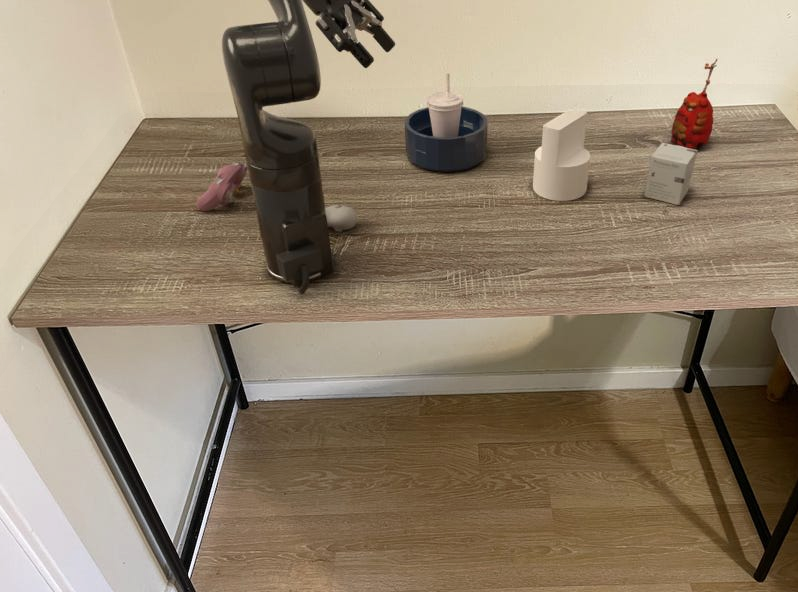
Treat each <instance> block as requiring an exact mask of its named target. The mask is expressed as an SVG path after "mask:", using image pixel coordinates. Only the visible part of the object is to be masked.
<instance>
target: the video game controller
mask: <svg viewBox="0 0 798 592" xmlns="http://www.w3.org/2000/svg"><path fill="white" fill-rule="evenodd" d="M247 172H248V167H247V165H244V164H242V163H240V162H236V161H234V160H233V161H232V162H231V163H230V164H227V165H224V166H223V167H221V168H219V170H218V172H217V175H216V177H215V178H214V179H213V181H212V182H211V184H210V185H209V187H208V189H207V190H206V191H205V192H204V193H202V195H200V196H199V197H198V198H197V200H196V203H195V204H196V208H197V209H198V210H199V211H201V212H209V211H212V210H214V209H215V208H217V207H218V206H219V205H222V206H223V207H224V206H226V205H227V204H228V202H229V200H230V198H232V197H234V196H235V195H236V194H238V193H239V191H240V189H239V188H240V186H241V184H242V183H243V181H244V179H245V177H246V175H247Z"/></svg>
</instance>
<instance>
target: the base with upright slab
mask: <svg viewBox="0 0 798 592" xmlns="http://www.w3.org/2000/svg"><path fill="white" fill-rule="evenodd" d="M587 122H588V112H587V111H585V110H582V109H580V108H579V109H578V108H573V107H570V108H569V109H568V110H565V111H564V112H563V113H561V114H559V115H557V116H556V117H554V118H552V119H550V120H549V121H547V122H546V123H544V124H543V125H542V138H541V146H539V147H538V148H536V149H535V152H534V161H533V175H532V176H533V177H532V189H533V191H534V193H535V194H536V195H538V196H539V197H541V198H544V199H546V200H550V201H557V202H567V201H573V200H578V199H580V198H581V197H583V196H584V195H585V194H586V193H587V189H588V181H589V171H590V162H591V153H590V152H589V150H588V149H587V148H585V139H586V138H585V137H586V131H587V130H586V129H587Z"/></svg>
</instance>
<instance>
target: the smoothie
mask: <svg viewBox="0 0 798 592" xmlns="http://www.w3.org/2000/svg"><path fill="white" fill-rule="evenodd" d="M445 85H446V86H445V87H446V91H440V92H435V93H432V94H429V95H428V96H427V97H426V108H427V107H428V108H429V113H430V119H431V125H432V132H433V137H458V132H459V124H460V116H461V107H462V106H463V107H464V97H463V96H462V95H461V94H459V93H456V92H452V91H451V90H450V89H451V87H450V72H446V73H445Z"/></svg>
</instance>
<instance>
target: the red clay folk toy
mask: <svg viewBox="0 0 798 592" xmlns="http://www.w3.org/2000/svg"><path fill="white" fill-rule="evenodd" d="M717 62H718V58H715V61H713V62H712V63H711V64H709V63H708V62H706V63H705V64H704V70H709V72H708V76H707V79H705V85H704V88H703V89H702V91H701V92H700V93H699V94H698V93H696V92H695V91H692V92H689V93H688V94H687V95H686V97H684V99H683V102H682V104H681V105H680V107H679V108H678V109H677V112H676V114H675V115H674V120H673V122H672V127H671V138H670V140H671V142H673V143H676V145H678V146H683V147H686V148H690V149H695V150H696V149H701V148H703V147H705V146H706V145H707V144H708V142H710V141H709V140H710V137H711V135H712V132H713V124H714V108H713V106H712V103H711V101H710V100H709V98H708V93H707V89H708V86H709V85H710V84H711V80H710V78H711V76H712V73H713V71H714V68H715V67H717V64H716V63H717Z"/></svg>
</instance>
